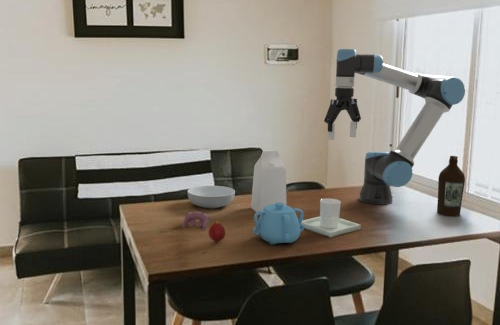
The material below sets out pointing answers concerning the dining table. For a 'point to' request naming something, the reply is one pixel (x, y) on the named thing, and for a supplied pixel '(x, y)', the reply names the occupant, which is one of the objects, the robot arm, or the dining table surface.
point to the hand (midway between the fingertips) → (342, 138)
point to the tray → (342, 228)
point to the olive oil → (450, 189)
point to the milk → (268, 181)
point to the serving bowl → (211, 196)
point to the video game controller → (196, 215)
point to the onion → (216, 232)
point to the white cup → (329, 213)
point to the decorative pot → (278, 223)
